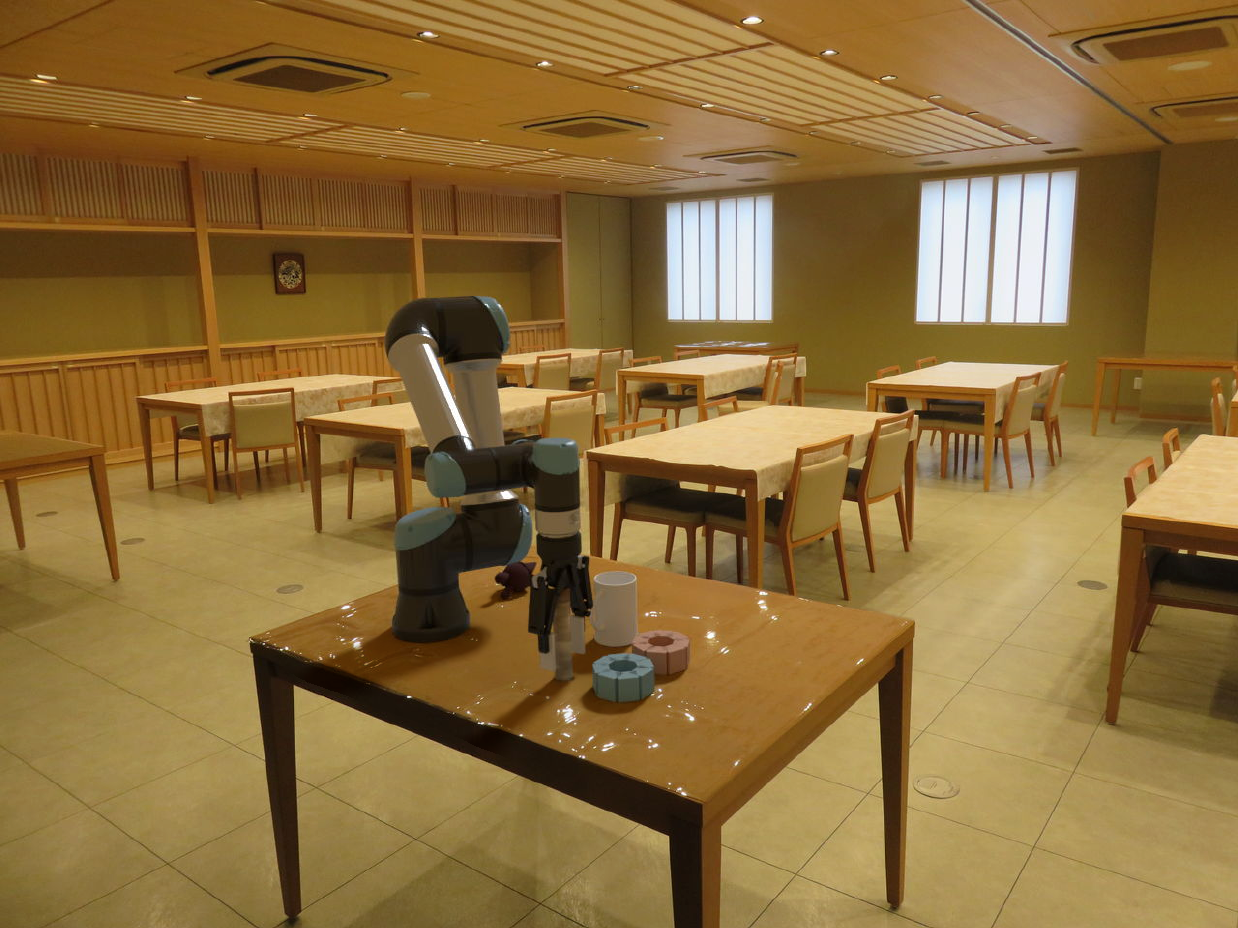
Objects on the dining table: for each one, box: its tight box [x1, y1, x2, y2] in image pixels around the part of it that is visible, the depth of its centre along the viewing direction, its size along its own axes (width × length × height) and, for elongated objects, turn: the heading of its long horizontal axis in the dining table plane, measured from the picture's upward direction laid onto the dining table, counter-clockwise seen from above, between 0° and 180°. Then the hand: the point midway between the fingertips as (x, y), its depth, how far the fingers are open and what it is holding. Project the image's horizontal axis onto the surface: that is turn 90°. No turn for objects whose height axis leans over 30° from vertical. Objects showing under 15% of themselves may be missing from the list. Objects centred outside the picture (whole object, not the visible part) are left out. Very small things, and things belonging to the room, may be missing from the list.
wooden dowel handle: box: [551, 586, 574, 682], centre depth 153 cm, size 3×3×16 cm
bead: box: [591, 652, 655, 703], centre depth 150 cm, size 10×10×4 cm
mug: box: [589, 570, 639, 648], centre depth 169 cm, size 12×8×12 cm
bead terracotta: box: [631, 629, 691, 676], centre depth 160 cm, size 10×10×4 cm
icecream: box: [494, 561, 538, 600], centre depth 198 cm, size 7×7×15 cm
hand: (563, 660), depth 154 cm, fingers open, 8 cm apart
